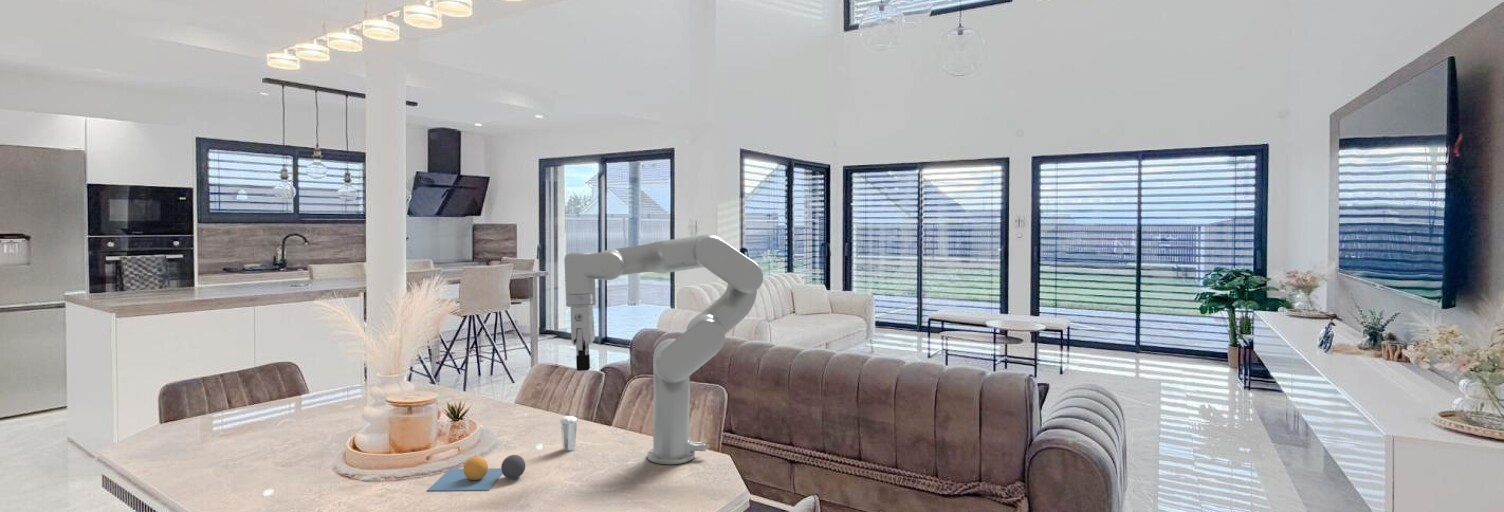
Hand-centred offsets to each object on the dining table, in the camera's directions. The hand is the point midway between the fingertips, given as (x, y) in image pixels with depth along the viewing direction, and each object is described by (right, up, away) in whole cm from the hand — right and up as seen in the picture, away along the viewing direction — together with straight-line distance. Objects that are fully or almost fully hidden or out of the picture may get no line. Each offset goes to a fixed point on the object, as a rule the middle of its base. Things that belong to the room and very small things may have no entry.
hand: (583, 369), depth 182 cm
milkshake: (-6, -24, +10) cm, 27 cm away
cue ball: (-14, -22, -11) cm, 28 cm away
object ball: (-23, -22, -13) cm, 34 cm away
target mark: (-25, -25, -13) cm, 37 cm away
